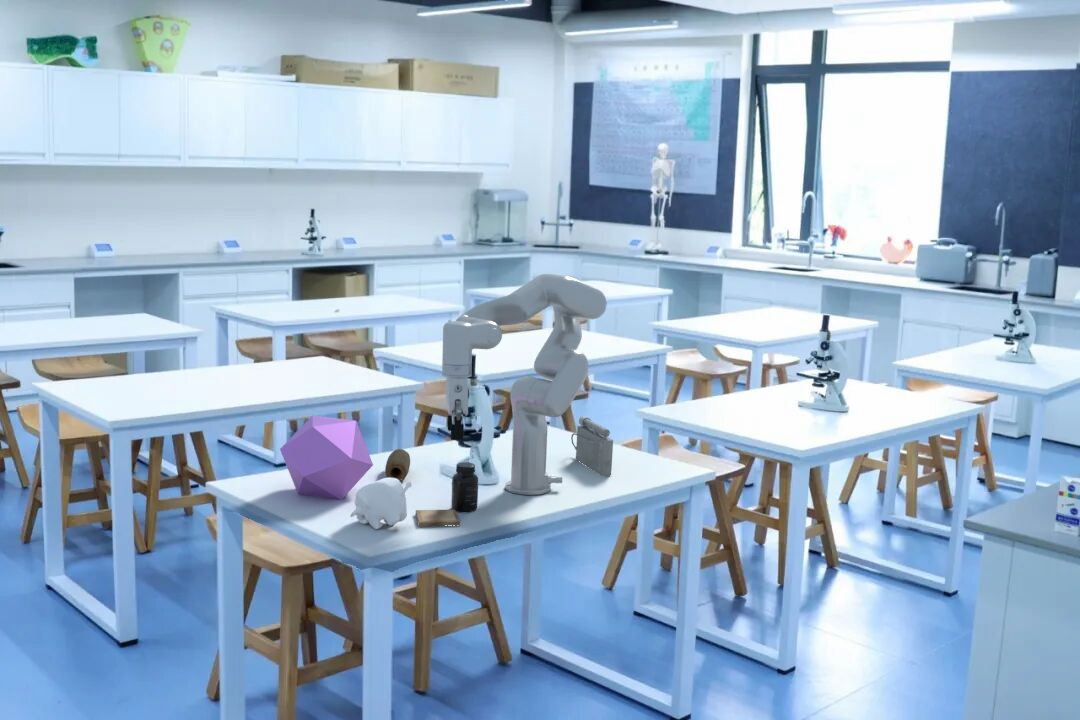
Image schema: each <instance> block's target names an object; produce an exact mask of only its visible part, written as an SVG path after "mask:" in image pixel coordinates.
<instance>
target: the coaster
mask: <svg viewBox="0 0 1080 720" xmlns="http://www.w3.org/2000/svg"><path fill="white" fill-rule="evenodd" d="M415 517H416V521H417V524H418V527H419V528H426V527H425V526H445V525H447V527H449V526H448V525H452V526H451V527H458V526H457V525H460V524H461V521H460V519H459V516H458V513H457V511H455V509H452V508H451V509H420V510H419V509H416V510H415ZM453 525H455V526H453Z"/></svg>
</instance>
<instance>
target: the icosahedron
mask: <svg viewBox="0 0 1080 720" xmlns="http://www.w3.org/2000/svg"><path fill="white" fill-rule="evenodd" d="M358 424H359V423H358V422H357V420H353V419H345V418H337V417H329V416H320V415H311V417H310V418H308V419H307V420H306V421H305V423H303V424H302V426H301V427H299V429H298V430H297V431H296V432H295V433H294V434H293V435H292V436H291V437H290V438H289V439H288V440H287V441H286V442H285V443H284V444H283V445H282V446H281V447H280V448H279V450H280V453H281V455H282V458H283V461H284V462H285V463H284V464H285V465H286V468H287V470H288V473H289V476H290V477H291V481H292V482H293V485H294V488H295V490H296V493H297V494H298V493H299V495H306V496H313V497H320V498H327V499H333V500H339V501H340V500H341V501H342V500H343V499H344V498H345V497H346V496H347V494H349V492H351V490H352V489H353V488H354V487H355V486H356V485H357V483H359V481H360V480H361V479H362V478H363V477H364V476H365V475H366V474H367V472H369V470H370V469H371V468H372V467H373V466H374V464H373V461H372V458H371V456H370V453H369V450H368V448H367V445H366V442H365V441H364V438H363V435H362V432H361V430H360V427H359V425H358Z"/></svg>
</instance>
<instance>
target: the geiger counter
mask: <svg viewBox="0 0 1080 720" xmlns="http://www.w3.org/2000/svg"><path fill="white" fill-rule="evenodd" d="M578 423H579V425H577V428H576V430H577V431H576V432H574V433H573V432H572V434H571V440H570V441H571V444H572V446H573V447H574V450H575V460H576V459H577V460H578V461H577V460H576V461H577V462H579V461H580V462H581V463H580V462H579V463H580V464H582V463H583V464H584V465H583V464H582V465H583V466H585V465H586V466H587V468H588V467H589V468H588V469H590V470H591V469H592V471H593V472H594V471H595V472H594V473H598V475H599V474H600V475H599V476H601V477H611V476H612V469H613V467H612V466H613V450H614V439H613V438H612V439H611V437H609V436H610V434H611V432H610V430H609V429H607V428H605V427H604V426H602V425H600V424H598V423H596V422H594V421H592V420H591V418H590V417H587V416H586V415H581V416H580V418H579V419H578ZM574 435H575V436H576V445H575V443H574V438H573V437H574ZM586 466H585V467H586ZM610 475H611V476H610Z"/></svg>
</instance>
